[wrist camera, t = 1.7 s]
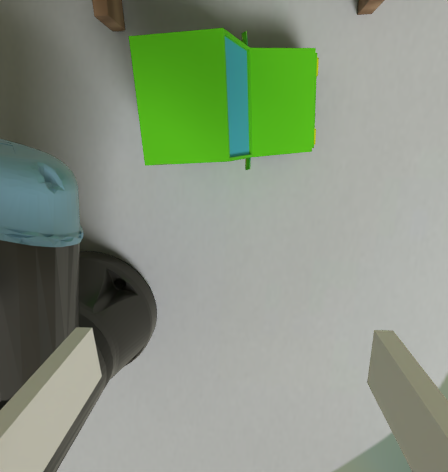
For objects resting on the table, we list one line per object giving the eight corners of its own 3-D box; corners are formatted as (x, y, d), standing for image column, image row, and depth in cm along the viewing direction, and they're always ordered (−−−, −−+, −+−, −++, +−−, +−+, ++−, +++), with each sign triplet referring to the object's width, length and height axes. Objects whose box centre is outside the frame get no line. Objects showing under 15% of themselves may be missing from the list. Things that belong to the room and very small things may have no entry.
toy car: (305, 162, 30) (332, 171, 21) (177, 168, 31) (147, 179, 22) (309, 47, 27) (342, -4, 18) (167, 59, 28) (126, 17, 19)
